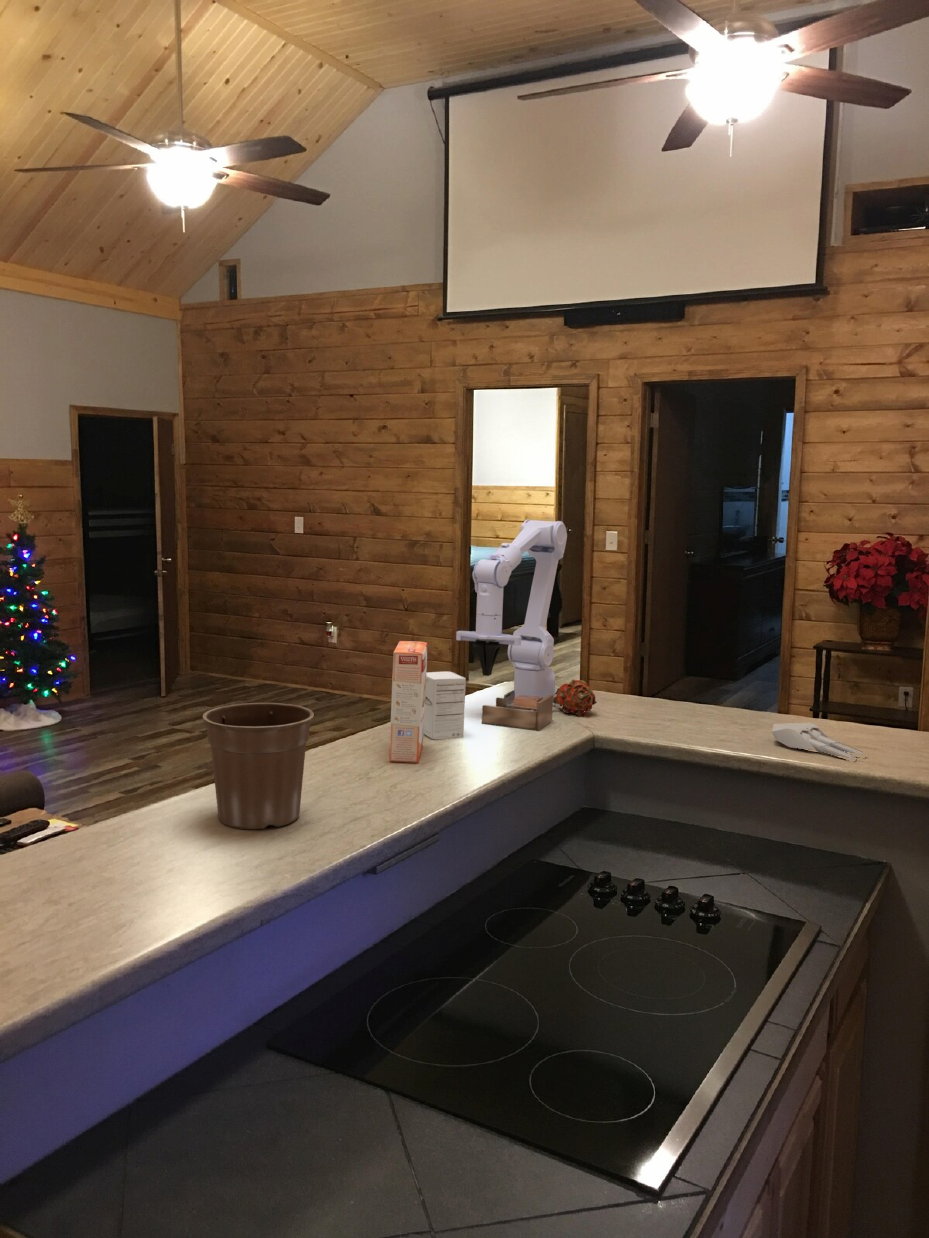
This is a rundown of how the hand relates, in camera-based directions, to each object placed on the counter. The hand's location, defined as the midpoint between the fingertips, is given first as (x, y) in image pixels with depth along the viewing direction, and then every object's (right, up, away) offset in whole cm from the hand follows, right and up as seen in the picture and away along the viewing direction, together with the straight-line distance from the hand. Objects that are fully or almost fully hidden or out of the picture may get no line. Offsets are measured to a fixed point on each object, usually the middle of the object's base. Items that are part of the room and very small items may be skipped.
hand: (487, 674), depth 222 cm
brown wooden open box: (+7, -10, -1) cm, 12 cm away
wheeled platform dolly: (+8, -9, -2) cm, 12 cm away
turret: (+67, -15, -15) cm, 71 cm away
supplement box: (-10, -12, -15) cm, 21 cm away
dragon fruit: (+20, -10, +11) cm, 25 cm away
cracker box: (-16, -14, -31) cm, 37 cm away
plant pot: (-36, -18, -70) cm, 81 cm away
